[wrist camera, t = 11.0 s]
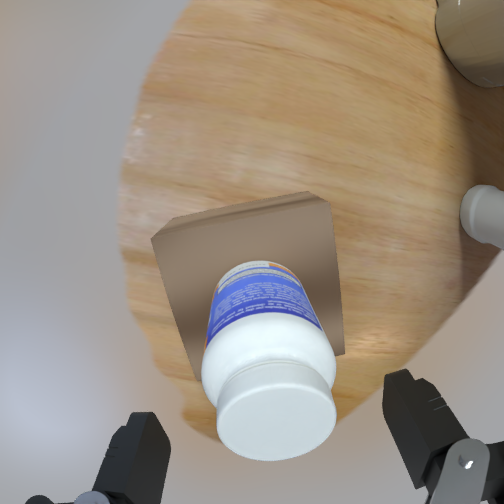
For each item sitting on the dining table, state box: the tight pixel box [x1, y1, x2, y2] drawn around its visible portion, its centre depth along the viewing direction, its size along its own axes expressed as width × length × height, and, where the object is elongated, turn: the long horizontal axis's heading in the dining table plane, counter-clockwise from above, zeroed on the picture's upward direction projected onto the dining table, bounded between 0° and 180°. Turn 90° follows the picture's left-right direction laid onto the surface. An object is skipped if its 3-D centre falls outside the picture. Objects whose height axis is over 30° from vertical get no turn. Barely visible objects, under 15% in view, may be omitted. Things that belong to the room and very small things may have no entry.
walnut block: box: [151, 191, 345, 381], centre depth 21 cm, size 10×10×6 cm
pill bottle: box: [201, 261, 337, 461], centre depth 14 cm, size 5×5×10 cm
